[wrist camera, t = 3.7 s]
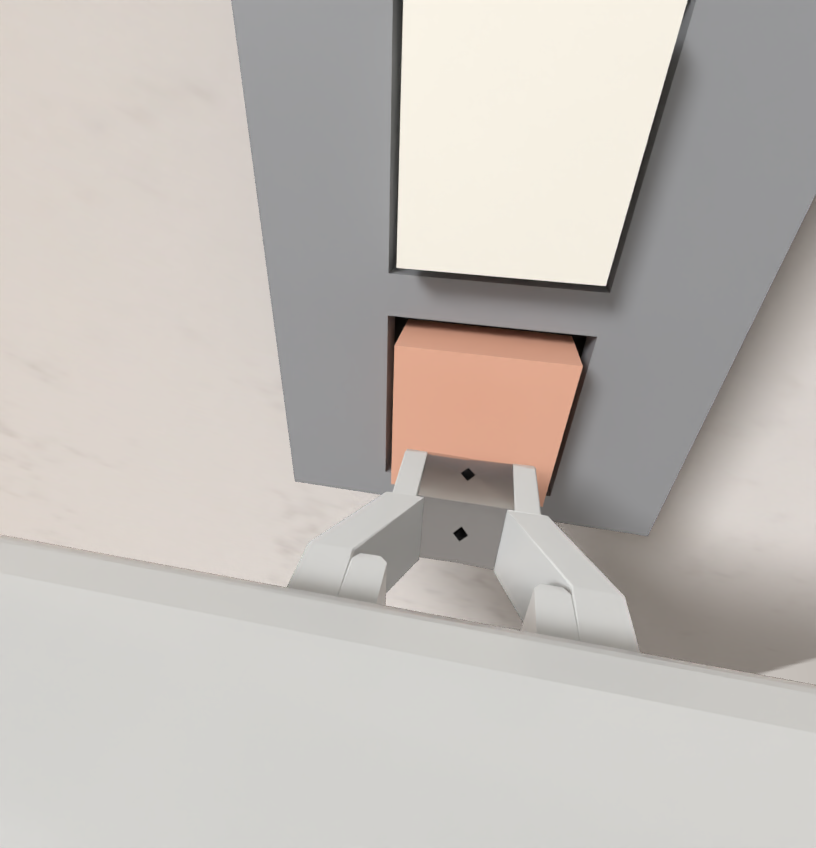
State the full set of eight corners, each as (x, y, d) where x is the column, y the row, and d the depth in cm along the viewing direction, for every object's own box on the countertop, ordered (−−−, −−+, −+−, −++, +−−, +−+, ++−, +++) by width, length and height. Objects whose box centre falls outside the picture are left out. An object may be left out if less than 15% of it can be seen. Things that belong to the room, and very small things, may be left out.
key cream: (653, 20, 9) (690, -9, 7) (590, 264, 11) (605, 286, 9) (421, 18, 9) (403, -10, 7) (411, 249, 12) (396, 267, 10)
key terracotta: (571, 335, 12) (582, 366, 10) (537, 465, 15) (542, 507, 13) (408, 319, 13) (394, 345, 11) (402, 446, 15) (391, 483, 14)
